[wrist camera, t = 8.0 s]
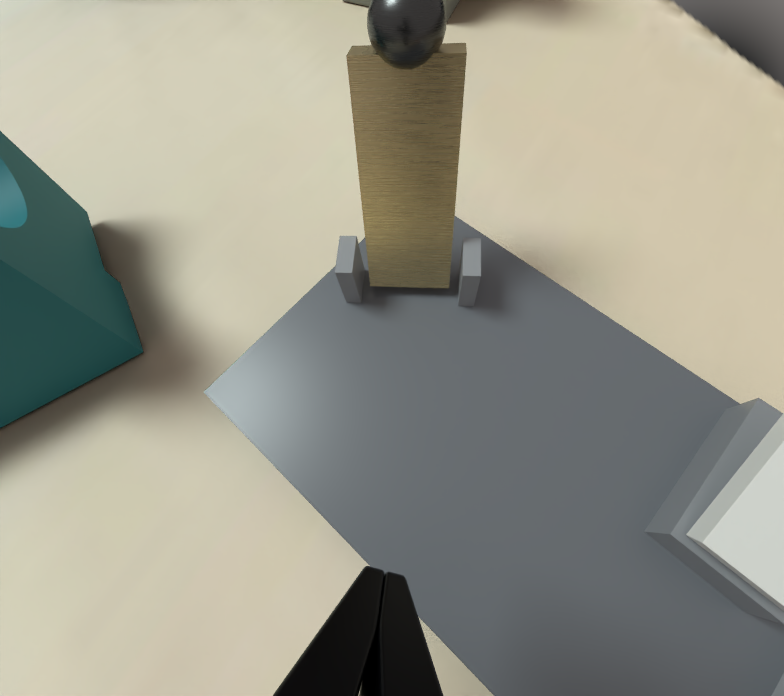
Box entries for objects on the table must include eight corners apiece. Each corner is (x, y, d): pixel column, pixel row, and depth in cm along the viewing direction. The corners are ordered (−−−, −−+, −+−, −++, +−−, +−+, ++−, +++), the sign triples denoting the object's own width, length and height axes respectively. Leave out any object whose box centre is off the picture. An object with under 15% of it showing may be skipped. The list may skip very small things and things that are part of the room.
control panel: (891, 1098, 13) (1118, 1383, 9) (217, 399, 22) (169, 374, 18) (1060, 642, 16) (1281, 688, 12) (415, 206, 26) (413, 148, 22)
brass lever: (449, 297, 21) (473, -25, 12) (368, 295, 21) (334, -19, 12) (449, 265, 23) (470, -38, 14) (374, 263, 23) (348, -33, 14)
